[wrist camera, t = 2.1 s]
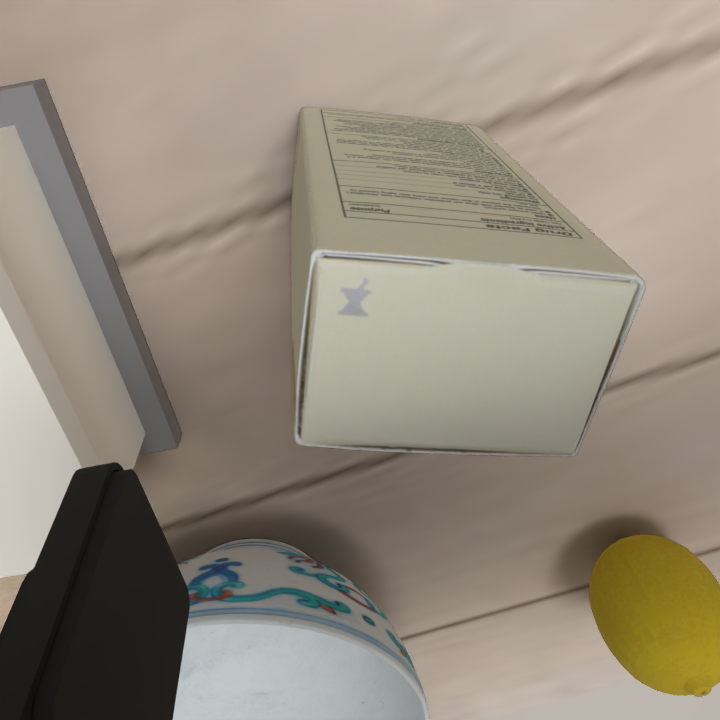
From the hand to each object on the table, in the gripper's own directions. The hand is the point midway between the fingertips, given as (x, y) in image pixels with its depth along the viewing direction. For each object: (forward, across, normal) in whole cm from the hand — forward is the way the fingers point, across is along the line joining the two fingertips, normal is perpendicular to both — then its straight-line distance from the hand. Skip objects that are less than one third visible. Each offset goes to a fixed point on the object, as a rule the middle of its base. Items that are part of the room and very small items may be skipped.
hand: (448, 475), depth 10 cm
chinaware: (+15, +8, +19) cm, 26 cm away
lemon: (+15, -10, +20) cm, 27 cm away
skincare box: (+15, -1, 0) cm, 15 cm away
